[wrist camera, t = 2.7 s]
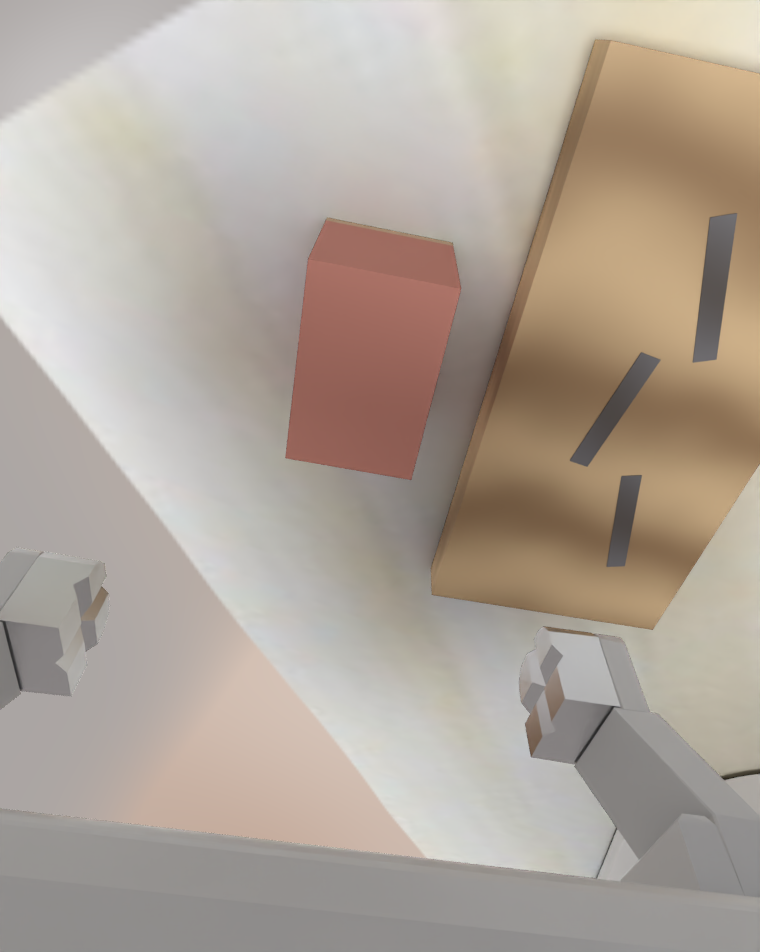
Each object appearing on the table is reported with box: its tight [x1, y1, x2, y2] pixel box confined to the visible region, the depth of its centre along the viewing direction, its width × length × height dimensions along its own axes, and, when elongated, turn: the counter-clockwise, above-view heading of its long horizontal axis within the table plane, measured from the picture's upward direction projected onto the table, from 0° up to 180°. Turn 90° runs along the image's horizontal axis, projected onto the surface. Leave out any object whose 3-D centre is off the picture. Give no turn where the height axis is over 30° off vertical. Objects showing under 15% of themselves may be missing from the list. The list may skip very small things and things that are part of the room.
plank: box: [431, 40, 760, 630], centre depth 25 cm, size 22×11×2 cm, turn 170°
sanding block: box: [285, 218, 461, 480], centre depth 22 cm, size 7×4×5 cm, turn 170°
